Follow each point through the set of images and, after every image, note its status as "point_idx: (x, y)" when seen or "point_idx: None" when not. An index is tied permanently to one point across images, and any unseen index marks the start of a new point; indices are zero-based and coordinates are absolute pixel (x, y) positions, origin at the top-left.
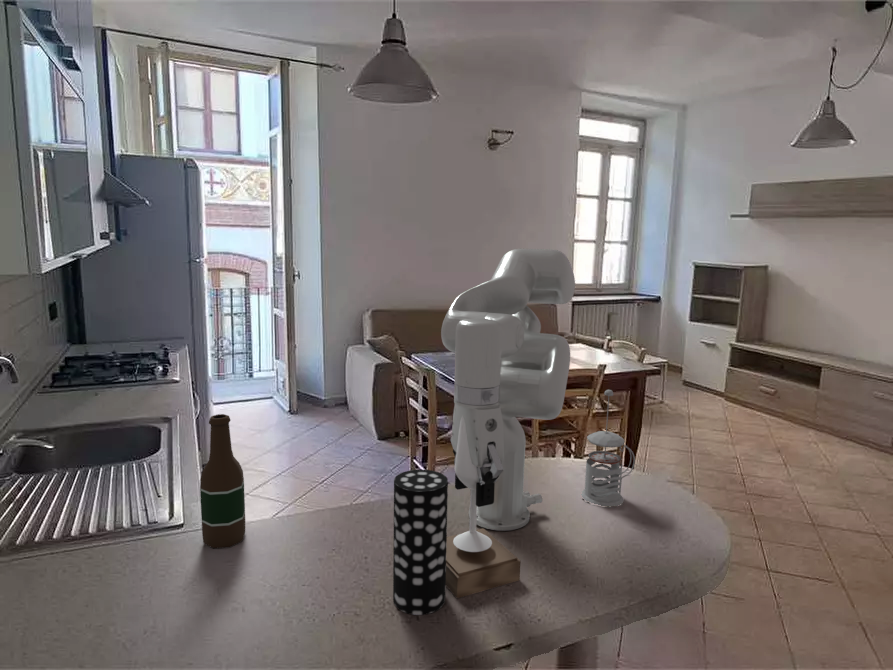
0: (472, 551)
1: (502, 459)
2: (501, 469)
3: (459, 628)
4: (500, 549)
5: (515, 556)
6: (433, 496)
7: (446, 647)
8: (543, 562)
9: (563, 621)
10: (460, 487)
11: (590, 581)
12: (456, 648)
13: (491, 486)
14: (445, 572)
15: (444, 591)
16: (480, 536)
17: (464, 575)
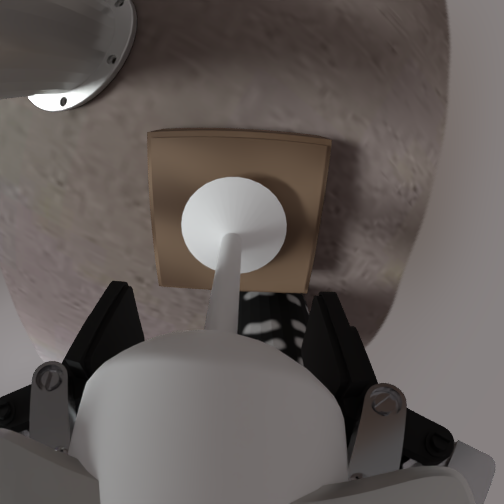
0: (275, 253)
1: (470, 493)
2: (487, 467)
3: (356, 296)
4: (271, 158)
5: (319, 145)
6: None
7: (369, 321)
8: (287, 46)
9: (436, 161)
10: (141, 336)
11: (386, 30)
12: (378, 313)
13: (372, 383)
14: (303, 324)
15: (301, 304)
16: (252, 224)
17: (308, 279)
